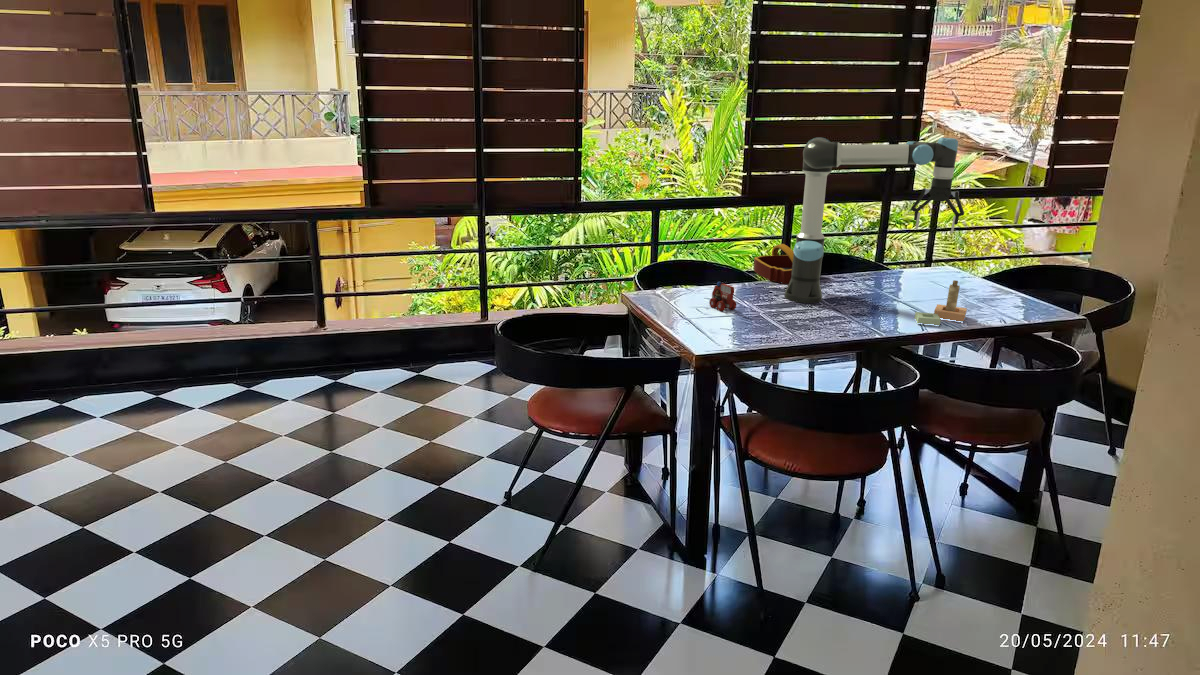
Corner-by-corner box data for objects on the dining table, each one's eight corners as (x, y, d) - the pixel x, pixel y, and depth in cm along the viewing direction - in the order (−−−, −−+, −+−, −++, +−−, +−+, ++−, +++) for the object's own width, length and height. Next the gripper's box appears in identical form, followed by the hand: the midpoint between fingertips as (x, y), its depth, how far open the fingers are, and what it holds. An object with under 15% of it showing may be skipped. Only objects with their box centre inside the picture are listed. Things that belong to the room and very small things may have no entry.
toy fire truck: (720, 303, 339) (722, 278, 336) (738, 311, 329) (740, 286, 326) (705, 305, 336) (707, 280, 333) (723, 313, 326) (726, 287, 323)
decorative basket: (746, 271, 407) (744, 241, 402) (805, 263, 408) (804, 233, 404) (765, 290, 375) (763, 257, 370) (829, 281, 377) (828, 249, 372)
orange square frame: (933, 319, 329) (934, 310, 328) (935, 312, 338) (937, 304, 337) (963, 323, 324) (964, 314, 323) (965, 316, 334) (966, 308, 333)
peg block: (944, 318, 331) (950, 281, 326) (945, 316, 334) (951, 279, 329) (953, 319, 329) (960, 282, 325) (954, 317, 332) (960, 280, 328)
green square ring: (917, 325, 320) (918, 317, 319) (914, 319, 328) (915, 311, 327) (939, 327, 319) (940, 319, 318) (935, 321, 326) (937, 313, 325)
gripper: (976, 179, 334) (967, 232, 341) (911, 174, 344) (903, 225, 351) (975, 181, 328) (966, 235, 334) (908, 175, 338) (900, 228, 344)
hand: (934, 230), depth 343 cm, fingers open, 13 cm apart
